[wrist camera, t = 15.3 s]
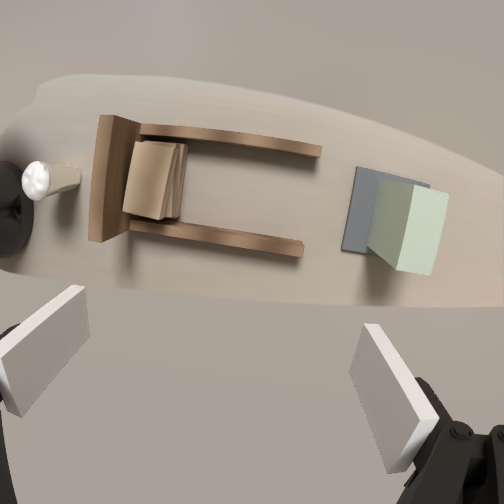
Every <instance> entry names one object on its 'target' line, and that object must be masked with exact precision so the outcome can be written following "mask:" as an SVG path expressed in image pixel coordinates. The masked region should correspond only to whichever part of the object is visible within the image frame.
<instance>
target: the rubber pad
mask: <svg viewBox="0 0 504 504" xmlns="http://www.w3.org/2000/svg"><path fill="white" fill-rule="evenodd" d="M379 180H383V181H391V182H399V183H407V184H414V185H418V186H422V187H425V188H429V189H430V185H428V184H425V183H421V182H418V181H414V180H410V179H407V178H403V177H399V176H395V175H391V174H387V173H383V172H379V171H375V170H371V169H367V168H362V167H358V166H357V167H356V172H355V178H354V184H353V189H352V195H351V200H350V206H349V211H348V216H347V221H346V226H345V231H344V236H343V241H342V246H341V249H344V250H349V251H355V252H361V253H367V254H372V255H378V254H377V253H375V252H374V251H373V250H372V249H370V248H369V247H368V246H367V241H368V236H369V232H370V227H371V222H372V217H373V212H374V207H375V202H376V196H377V191H378V185H379ZM378 256H379V255H378Z"/></svg>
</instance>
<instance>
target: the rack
mask: <svg viewBox="0 0 504 504" xmlns="http://www.w3.org/2000/svg"><path fill="white" fill-rule="evenodd" d="M149 136H154V137H167V138H179V139H190V140H199V141H209V142H217V143H225V144H233V145H241V146H248V147H255V148H262V149H268V150H274V151H281V152H287V153H292V154H298V155H304V156H309V157H314V158H318V157H321V151H322V146H319V145H314V144H309V143H303V142H298V141H292V140H286V139H280V138H274V137H268V136H261V135H254V134H247V133H240V132H232V131H224V130H215V129H206V128H195V127H184V126H172V125H157V124H141V123H138V122H135V121H132V120H128V119H125V118H122V117H119V116H116V115H100V118H99V124H98V131H97V138H96V145H95V153H94V162H93V172H92V182H91V195H90V210H89V233H88V241H94V242H99V243H102V242H104V241H106V240H109V239H111V238H113V237H115V236H117V235H119V234H121V233H123V232H126V231H128V230H134V231H141V232H147V233H153V234H160V235H166V236H172V237H178V238H185V239H191V240H197V241H203V242H210V243H216V244H222V245H228V246H235V247H241V248H247V249H253V250H260V251H266V252H272V253H278V254H284V255H291V256H297V257H303V253H304V248H305V247H304V245H303V242H302V241H298V240H292V239H286V238H280V237H273V236H267V235H261V234H255V233H249V232H242V231H236V230H230V229H223V228H217V227H210V226H204V225H197V224H191V223H184V222H177V221H171V220H164V219H160V220H157V219H153V218H149V217H143V216H140V215H133V214H132V213H128V212H124V211H122V210H123V203H124V197H125V191H126V186H127V180H128V175H129V170H130V165H131V160H132V155H133V150H134V146H135V141H137V142H143V141H148V139H149Z"/></svg>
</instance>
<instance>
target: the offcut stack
mask: <svg viewBox="0 0 504 504" xmlns="http://www.w3.org/2000/svg"><path fill="white" fill-rule="evenodd" d="M187 152H188V145H186V144H179V143H168V142H156V141H143V142H137V141H135V146H134V150H133V155H132V160H131V165H130V170H129V175H128V180H127V186H126V191H125V197H124V203H123V210H122V211H124V212H128V213H132V214H133V215H140V216H145V217H149V218H153V219H157V220H160V219H162V218H164V217H168V218H177V217H178V216H179V214H180V205H181V197H182V189H183V181H184V173H185V166H186V159H187Z"/></svg>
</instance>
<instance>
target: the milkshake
mask: <svg viewBox="0 0 504 504" xmlns="http://www.w3.org/2000/svg"><path fill="white" fill-rule="evenodd" d="M80 180H81V173H80V170H79V168H77V167H76V166H74V165H67V164H56V163H48V162H40V161H35V162H32V163H31V164H29V165H28V167H27V168H26V169H25V171H24V173H23V176H22V188H23V190H24V192H25V194H26V195H27V197H29V198H30V199H32V200H35V201H38V200H41V199H43V198H46V197H49V196H52V195H54V194H57V193H60V192H64V191H67V190H71V189H74V188H76V187H77V186H78V185H79V183H80Z"/></svg>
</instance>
